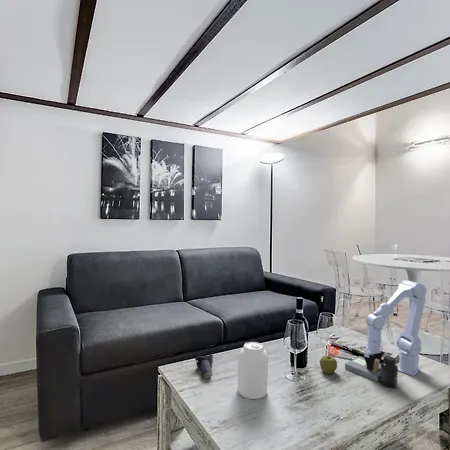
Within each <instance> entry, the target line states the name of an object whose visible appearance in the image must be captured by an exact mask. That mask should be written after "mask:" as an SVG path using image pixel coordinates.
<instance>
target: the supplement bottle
mask: <svg viewBox="0 0 450 450" xmlns="http://www.w3.org/2000/svg"><path fill="white" fill-rule="evenodd" d="M383 356H384V355H383ZM380 364H381V374H380V381H379V382H380V384H381V385H382V386H383V387H386V388H388V389H389V388H390V389H395V388H397V386H398V374H399V373H398V372H399V371H398V367H399V366H398V365H396V364H397V360H396V358H395V357H393V356H389V355H386V356H384V357H383V361H382V362H380Z"/></svg>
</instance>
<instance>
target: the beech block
mask: <svg viewBox="0 0 450 450" xmlns="http://www.w3.org/2000/svg"><path fill="white" fill-rule="evenodd" d="M379 362H380V363H381V361H380V360H379V359H375V361H374V365H373V370H372V371H373V372H378V371H379Z"/></svg>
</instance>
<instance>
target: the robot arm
mask: <svg viewBox="0 0 450 450" xmlns="http://www.w3.org/2000/svg"><path fill="white" fill-rule="evenodd" d="M427 291H428V290H427V288H426V287H425V285H424V284H423V283H420V282H415V281H412V280H410V279H409V280H408V279H404V280H402V281H401V282H400V283H399V284H398V288H397V290H396V291H395V292H394V294H392V295H391V297H390V299H389V300H388V301H387V302H382V303H380V305H379V307H378V308H377V309H376V310H375V311H374V312H373V313H370V314H368V315H367V316H366V319H365V324H366V325H367V345H366V346H364V348H365V351H364V352H363V353H362V357H363V358H364V359H365V361H366V365H367V369H368V370H370V371H372V370H373V365H374V361H375V359H379V360H380V362H379V364H381V360H382V358H383V356H384V355H385V352H384V351H383V350H384V346H383V345H382V329H383V328H384V327H385V324H386V321H387V319H388V318H389V317H390V316H392V314H393V313H394V308H395V307H396V306H397V305H398V304H399V303H400V302H402V301H403V300H404V299H405V298H409V299H410V300H411V303H410V307H409V311H408V316H407V320H406V325H405V329H404V331H403V332H400V333H399V336H398V338H397V340H396V346H397V347H398V350H399V362H398V365H399V366H397V367H398V372H401V373H405V374H407V375H409V376H412V377H414V376H416V374H418V373H419V372H420V371H421V369H420V368H419V366H420V365H419V363H420V361H419V360H420V359H419V358H420V356H419V354H420V353H421V352H422V340H421V338H420V337H419V335H418V334H419V330H420V325H421V321H422V317H423V312H424V308H425V304H426V294H427Z"/></svg>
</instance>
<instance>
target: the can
mask: <svg viewBox="0 0 450 450" xmlns="http://www.w3.org/2000/svg"><path fill="white" fill-rule="evenodd" d="M237 358H238V362H237V371H238V372H237V391H238V394H239V395H241V396H242V397H243V398H245V399H250V400H251V399H252V400H258V399H262V398H264V397H265V396H266V395H267V393H268V377H269V375H268V374H269V354H268V352H267V351H266V350H265V348H264V344H262V343H260V342H257V341H250V342H249V341H248V342H245V343H244V345H243V346H242V348H241V350H239V352H238V357H237Z"/></svg>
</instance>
